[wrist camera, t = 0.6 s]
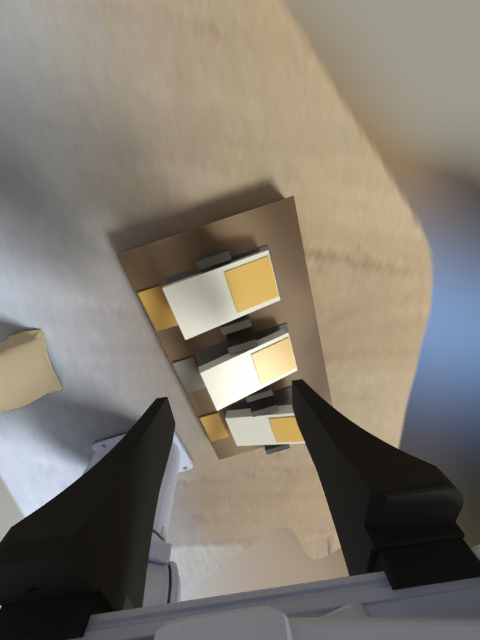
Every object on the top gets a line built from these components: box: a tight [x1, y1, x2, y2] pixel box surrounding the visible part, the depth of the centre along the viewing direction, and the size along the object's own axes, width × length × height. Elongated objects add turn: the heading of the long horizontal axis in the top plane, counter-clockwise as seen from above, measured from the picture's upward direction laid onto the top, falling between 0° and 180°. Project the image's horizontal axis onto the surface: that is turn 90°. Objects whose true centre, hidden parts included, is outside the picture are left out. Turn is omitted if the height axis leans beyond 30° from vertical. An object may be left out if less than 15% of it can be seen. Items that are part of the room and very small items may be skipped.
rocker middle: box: [198, 329, 297, 411], centre depth 19 cm, size 8×4×1 cm, turn 107°
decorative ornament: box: [0, 330, 63, 413], centre depth 19 cm, size 4×8×5 cm, turn 178°
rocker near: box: [162, 250, 280, 340], centre depth 16 cm, size 8×4×1 cm, turn 107°
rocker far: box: [225, 405, 305, 446], centre depth 22 cm, size 8×4×1 cm, turn 107°
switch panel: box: [117, 196, 332, 460], centre depth 21 cm, size 14×24×5 cm, turn 17°
